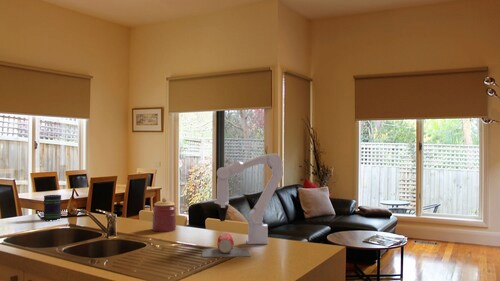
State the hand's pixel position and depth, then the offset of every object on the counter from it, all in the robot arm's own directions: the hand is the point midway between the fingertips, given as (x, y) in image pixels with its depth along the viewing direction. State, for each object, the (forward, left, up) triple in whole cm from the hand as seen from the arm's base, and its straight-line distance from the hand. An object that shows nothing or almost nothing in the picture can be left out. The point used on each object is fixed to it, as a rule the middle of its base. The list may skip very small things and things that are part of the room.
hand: (222, 220), depth 201 cm
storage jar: (+103, -69, -11) cm, 124 cm away
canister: (+31, -34, -11) cm, 47 cm away
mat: (-1, +20, -10) cm, 22 cm away
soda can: (-1, +11, -7) cm, 13 cm away
